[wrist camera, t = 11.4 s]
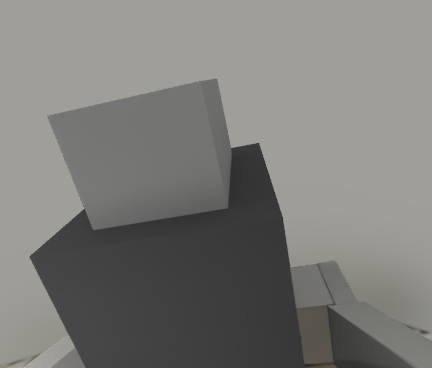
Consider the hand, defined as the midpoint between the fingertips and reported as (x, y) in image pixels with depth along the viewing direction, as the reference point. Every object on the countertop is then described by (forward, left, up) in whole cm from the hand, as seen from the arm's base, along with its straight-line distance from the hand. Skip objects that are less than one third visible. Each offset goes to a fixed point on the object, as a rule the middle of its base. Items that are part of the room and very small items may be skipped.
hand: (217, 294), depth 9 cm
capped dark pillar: (0, +1, -7) cm, 7 cm away
